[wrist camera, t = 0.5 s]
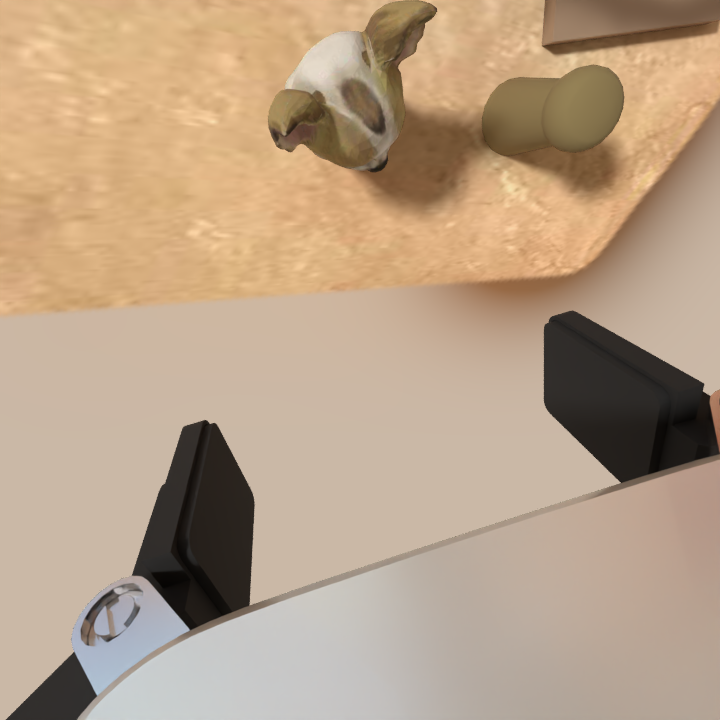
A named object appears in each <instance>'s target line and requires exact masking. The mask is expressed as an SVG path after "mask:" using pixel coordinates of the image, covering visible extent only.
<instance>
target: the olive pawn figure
mask: <svg viewBox="0 0 720 720" xmlns="http://www.w3.org/2000/svg"><path fill="white" fill-rule="evenodd" d="M623 103H624V92H623V86H622V84H621V82H620V80H619V78H618V77H617V75H616V74H615V73H614V72H613V71H611V70H610V69H609V68H606V67H602V66H598V65H589V66H584V67H580V68H576V69H575V70H573V71H571V72H570V73H568V74H566V75H565V76H563V77H562V78H561V79H560V78H523V77H519V78H514V79H509V80H507V81H506V82H504V83H502V84H501V85H499V86H498V87H497V88H496V89H495V91H494V92H493V93H492V94H491V95H490V97H489V99H488V101H487V103H486V105H485V108H484V112H483V117H482V131H483V134H484V138H485V141H486V142H487V144H488V145H489V147H490V148H491V149H492V150H493V151H495V152H496V153H498V154H500V155H506V156H510V155H515V154H520V153H524V152H528V151H533V150H537V149H541V148H546V147H550V146H554V147H555V148H557V149H559V150H560V151H565V152H572V153H576V152H581V151H585V150H588V149H591V148H592V147H594V146H596V145H598V144H599V143H601V142H602V141H603V140H604V139H605V138H606V137H607V136H608V135H609V134H610V133H611V132H612V130H613V129H614V127H615V126H616V124H617V122H618V121H619V118H620V115H621V113H622V110H623Z"/></svg>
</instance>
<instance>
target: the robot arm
mask: <svg viewBox="0 0 720 720" xmlns="http://www.w3.org/2000/svg"><path fill="white" fill-rule="evenodd" d="M703 387H704V383H702V382H700V381H699V380H697V379H695V378H693V377H691V376H690V375H688V374H686V373H684V372H683V371H681V370H679V369H677V368H675V367H673V366H672V365H670V364H668V363H666V362H665V361H663V360H661V359H659V358H658V357H656V356H654V355H652V354H650V353H649V352H647V351H645V350H643V349H641V348H640V347H638V346H636V345H634V344H632V343H631V342H629V341H627V340H625V339H624V338H622V337H620V336H618V335H616V334H615V333H613V332H611V331H609V330H607V329H606V328H604V327H602V326H600V325H599V324H597V323H595V322H593V321H591V320H590V319H587V318H586V317H584V316H582V315H581V314H579V313H577V312H575V311H569V312H565V313H562V314H558V315H555V316H552V317H551V318H550V319H549V323H547V324H545V327H544V403H545V406H546V408H547V410H548V412H549V413H550V414H552V416H553V417H554V418H555V419H556V420H557V421H558V422H559V423H560V424H562V426H563V427H564V428H566V429H567V430H568V431H569V432H570V433H571V434H572V435H573V436H574V437H575V438H576V439H577V440H578V441H579V442H580V443H581V444H582V445H583V446H584V447H585V448H586V449H587V450H588V451H589V452H590V453H591V454H593V456H594V457H595V458H596V459H597V460H598V461H599V462H600V463H601V464H602V465H603V466H604V467H605V468H606V469H607V470H608V471H609V472H610V473H612V474H613V475H614V476H615V477H616V478H617V479H618V480H619V481H620V482H621V483H620V484H617V485H614V486H611V487H608V488H605V489H601V490H598V491H595V492H592V493H589V494H586V495H582V496H579V497H577V498H573V499H570V500H567V501H564V502H560V503H557V504H554V505H551V506H548V507H545V508H542V509H539V510H535V511H532V512H529V513H526V514H523V515H520V516H517V517H514V518H511V519H508V520H505V521H502V522H499V523H495V524H493V525H489V526H486V527H483V528H480V529H477V530H474V531H471V532H468V533H465V534H462V535H459V536H455V537H452V538H449V539H446V540H443V541H440V542H437V543H434V544H431V545H428V546H425V547H422V548H419V549H416V550H413V551H410V552H407V553H403V554H400V555H397V556H395V557H391V558H389V559H385V560H382V561H379V562H376V563H373V564H370V565H367V566H364V567H361V568H358V569H355V570H352V571H350V572H346V573H343V574H340V575H337V576H334V577H331V578H328V579H325V580H322V581H319V582H316V583H313V584H310V585H307V586H305V587H302V588H299V589H296V590H293V591H290V592H287V593H284V594H282V595H279V596H276V597H273V598H270V599H268V600H264V601H262V602H259V603H256V604H253V605H250V606H249V604H250V603H249V602H250V583H251V564H252V544H253V524H254V497H253V494H252V491H251V489H250V487H249V486H248V483H247V481H246V479H245V477H244V475H243V474H242V472H241V470H240V468H239V466H238V464H237V462H236V460H235V458H234V456H233V454H232V452H231V450H230V449H229V447H228V445H227V443H226V441H225V439H224V437H223V435H222V433H221V431H220V429H219V428H218V426H217V424H215V423H212V424H209V422H208V421H206V420H204V421H201V422H197V423H194V424H190V425H187V426H185V427H183V429H182V432H181V435H180V438H179V441H178V444H177V448H176V451H175V454H174V457H173V460H172V464H171V467H170V470H169V473H168V476H167V479H166V483H165V484H164V485H162V487H161V489H160V491H159V494H158V497H157V500H156V503H155V506H154V509H153V512H152V515H151V518H150V522H149V524H148V527H147V531H146V534H145V537H144V540H143V543H142V546H141V549H140V552H139V555H138V558H137V561H136V564H135V568H134V571H133V574H132V576H129V577H125V578H122V579H120V580H118V581H116V582H114V583H112V584H110V585H109V586H107V587H106V588H105V589H103V590H102V591H100V592H99V593H98V594H97V595H96V596H95V597H94V598H93V599H92V600H91V601H90V602H89V603H88V604H87V606H86V607H85V609H84V610H83V611H82V613H81V614H80V615H79V617H78V619H77V622H76V624H75V626H74V628H73V633H72V638H71V641H72V646H73V650H74V653H73V654H72V655H71V656H70V657H69V658H68V659H67V660H66V661H64V663H63V664H62V665H61V666H59V667H58V668H57V669H56V670H55V671H54V672H53V673H52V675H51V676H49V677H48V678H47V679H46V680H45V681H44V682H43V683H42V684H41V685H40V686H39V687H38V688H37V689H36V690H35V691H34V692H33V693H32V694H31V695H30V696H29V697H28V698H27V699H26V700H25V701H24V702H23V703H22V704H21V705H20V706H19V707H18V708H17V709H16V710H15V711H14V712H13V713H12V714H11V715H10V716H9V717H8V718H7V719H6V720H720V390H717V391H715V392H714V393H713V394H712V395H711V396H709V395H707V394H706V393H704V392H703Z"/></svg>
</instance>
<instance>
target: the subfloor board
mask: <svg viewBox="0 0 720 720" xmlns="http://www.w3.org/2000/svg"><path fill="white" fill-rule="evenodd" d="M719 20H720V0H545V11H544V25H543V39H542V46H545V45H552V44H560V43H567V42H575V41H582V40H590V39H597V38H605V37H612V36H620V35H627V34H635V33H642V32H650V31H657V30H665V29H672V28H680V27H687V26H695V25H702V24H708V23H711V22H715V21H719Z"/></svg>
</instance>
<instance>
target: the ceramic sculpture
mask: <svg viewBox="0 0 720 720" xmlns="http://www.w3.org/2000/svg"><path fill="white" fill-rule="evenodd" d="M436 12H437V8H436V7H435V6H433V5H432V4H430V3H427V2H423V1H419V0H405V1H398V2H392V3H389V4H387V5H384V6H383V7H381V8H380V9H378V10H377V11H376V12H375V13H374V14H373V16H372V17H371V19H370V21H369V23H368V25H367V27H366V29H365V31H364V32H359V31H342V32H338V33H334V34H331V35H330V36H328V37H326V38H324V39H322V40H321V41H319V42H318V43H317V44H316V45H314V46H313V47H312V48H311V49H309V51H308V52H307V53H306V55H305V56H304V57H303V59H302V60H301V62H300V63H299V65H298V66H297V68H296V69H295V70H294V72H293V73H292V74H291V75H290V76H289V78H288V80H287V82H286V85H285V90H282V91H280V92H279V93H278V94H277V95H276V96H275V98H274V101H273V103H272V105H271V107H270V110H269V116H268V125H269V130H270V133H271V136H272V138H273V140H274V142H275V144H276V146H277V147H278V148H280V149H285V150H286V151H288V152H292V151H293V150H294V149H295V148H296V146H297V145H299V144H304V145H306V146H307V147H308V148H309V149H310V150H311V151H313V153H314V154H315V155H317V156H318V157H321V158H323V159H326V160H329V161H331V162H333V163H335V164H337V165H339V166H342V167H345V168H349V169H354V170H360V171H362V170H368V171H370V172H378V171H381V170H382V169H383V168H384V167H385V166H386V164H387V161H388V155H387V154H388V151H389V148H390V145H392V144H393V142H394V141H395V140H396V139H397V138H398V136H399V134H400V132H401V129H402V126H403V122H404V118H405V107H404V99H403V87H402V79H401V73H400V71H399V69H398V65H399V64H400V62H401V61H402V60H404V59H405V58H407V57H409V56H411V55H412V54H414V53H415V52H416V48H417V43H418V42H419V40H420V39H421V38H422V36H423V31H424V28H425V23H426V22H428V21H429V20H431V19H432V18H433V17H434V16H435V14H436Z"/></svg>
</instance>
